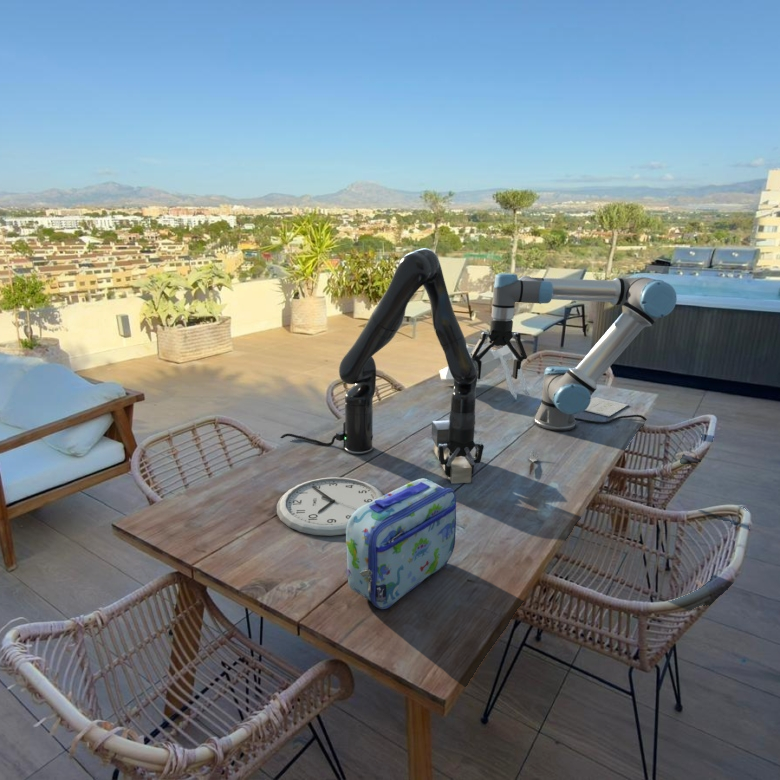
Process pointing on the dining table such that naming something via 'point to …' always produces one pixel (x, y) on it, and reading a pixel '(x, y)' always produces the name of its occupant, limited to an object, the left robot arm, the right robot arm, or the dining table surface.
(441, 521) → the lunch box
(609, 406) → the invitation card
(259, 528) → the dining table surface
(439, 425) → the slate block
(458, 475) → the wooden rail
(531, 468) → the fork
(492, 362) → the white plastic object
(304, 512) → the wall clock
